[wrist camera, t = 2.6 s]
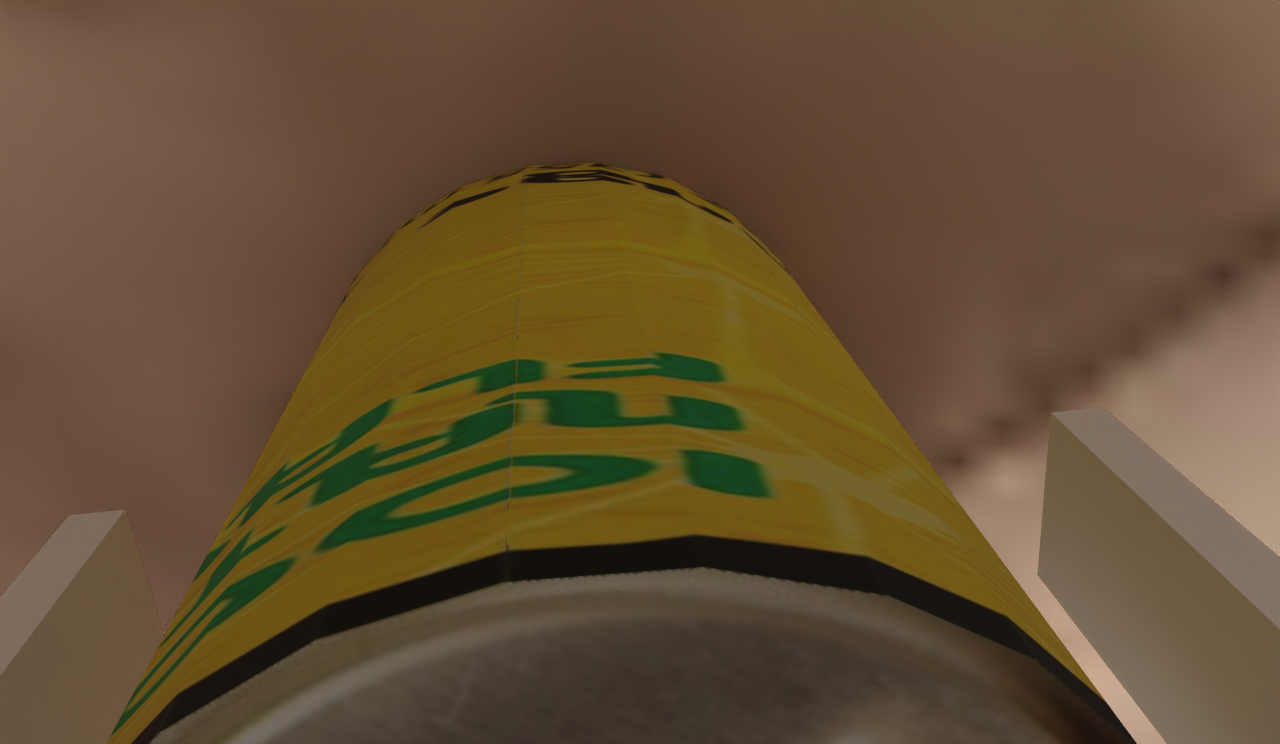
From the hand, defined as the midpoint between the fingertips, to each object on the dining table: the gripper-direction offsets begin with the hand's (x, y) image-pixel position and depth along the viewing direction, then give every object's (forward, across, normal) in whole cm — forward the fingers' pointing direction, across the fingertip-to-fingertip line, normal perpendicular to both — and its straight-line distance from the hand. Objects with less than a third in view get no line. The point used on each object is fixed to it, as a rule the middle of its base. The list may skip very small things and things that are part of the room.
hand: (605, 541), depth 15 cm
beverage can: (+4, 0, 0) cm, 5 cm away
